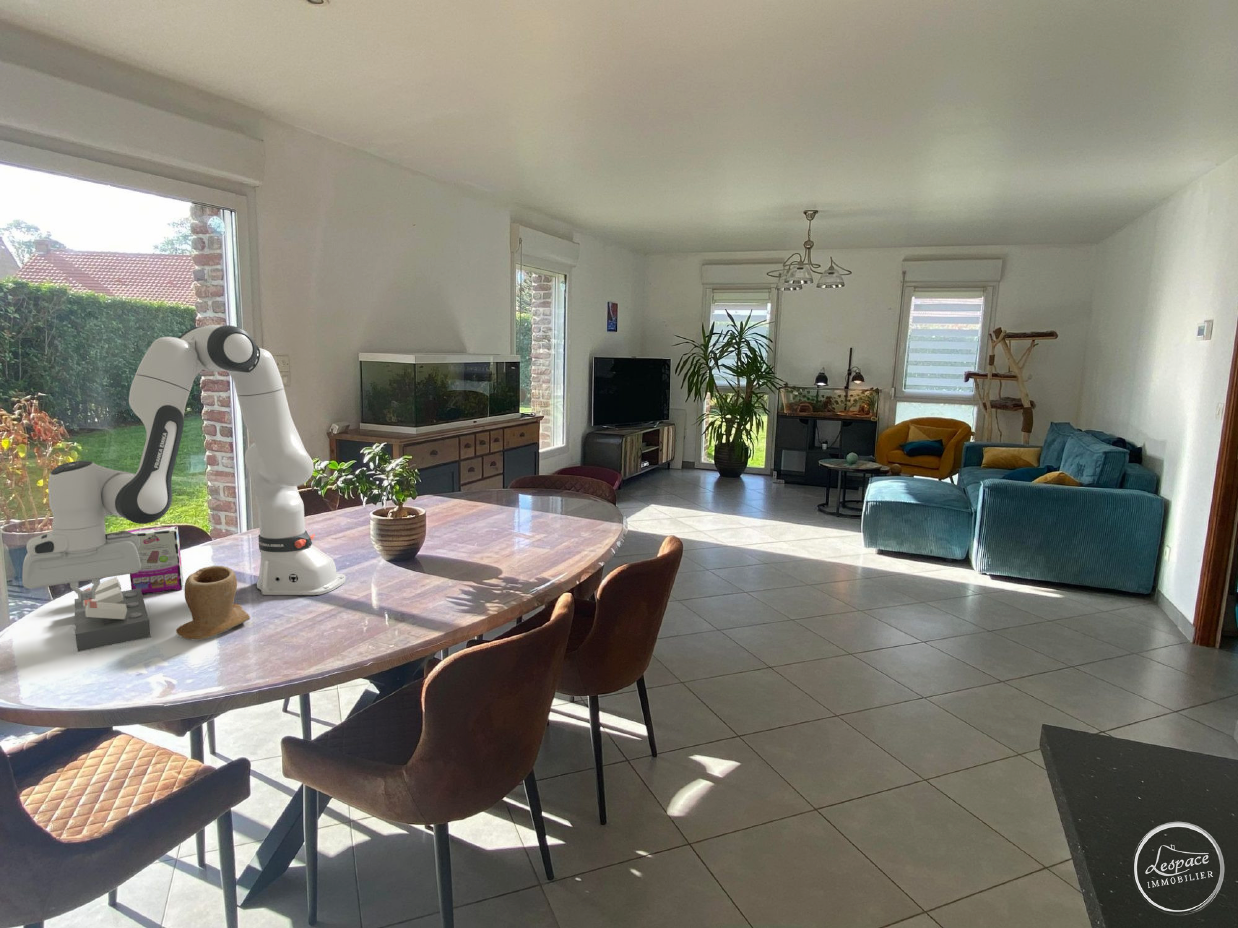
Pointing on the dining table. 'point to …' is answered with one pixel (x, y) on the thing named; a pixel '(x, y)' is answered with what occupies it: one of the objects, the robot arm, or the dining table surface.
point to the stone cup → (211, 603)
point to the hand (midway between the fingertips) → (87, 599)
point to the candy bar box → (158, 561)
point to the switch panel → (112, 624)
